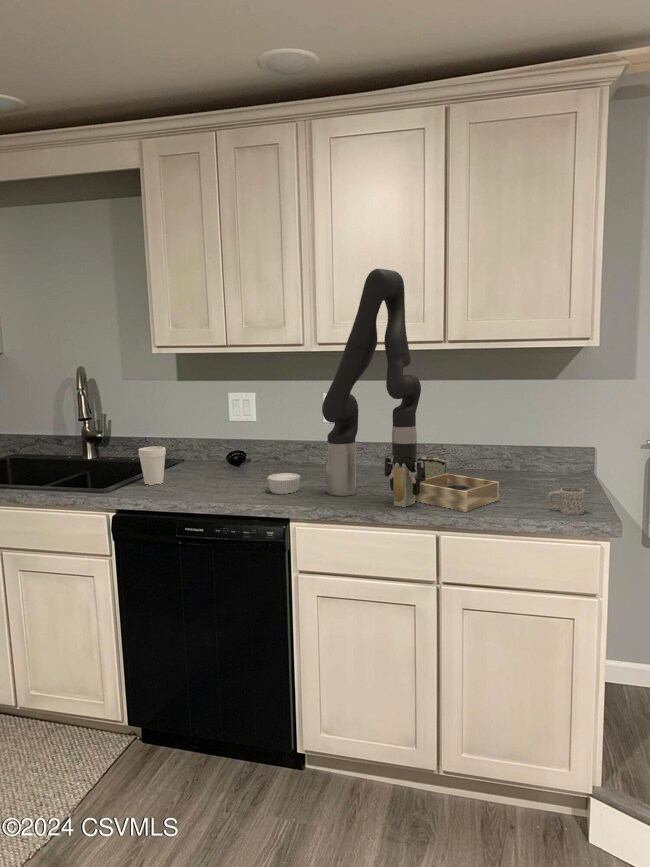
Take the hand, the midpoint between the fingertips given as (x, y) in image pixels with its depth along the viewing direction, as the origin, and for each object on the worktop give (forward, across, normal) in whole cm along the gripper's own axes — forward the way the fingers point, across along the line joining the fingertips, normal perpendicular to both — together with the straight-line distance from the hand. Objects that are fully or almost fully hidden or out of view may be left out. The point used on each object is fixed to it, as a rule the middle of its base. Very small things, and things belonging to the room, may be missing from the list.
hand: (404, 492), depth 207 cm
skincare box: (+4, 0, 0) cm, 4 cm away
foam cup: (+4, -87, -37) cm, 95 cm away
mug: (+4, +40, +25) cm, 47 cm away
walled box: (+4, +9, +14) cm, 17 cm away
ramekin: (+4, -42, -13) cm, 44 cm away
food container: (+4, -9, +28) cm, 30 cm away
